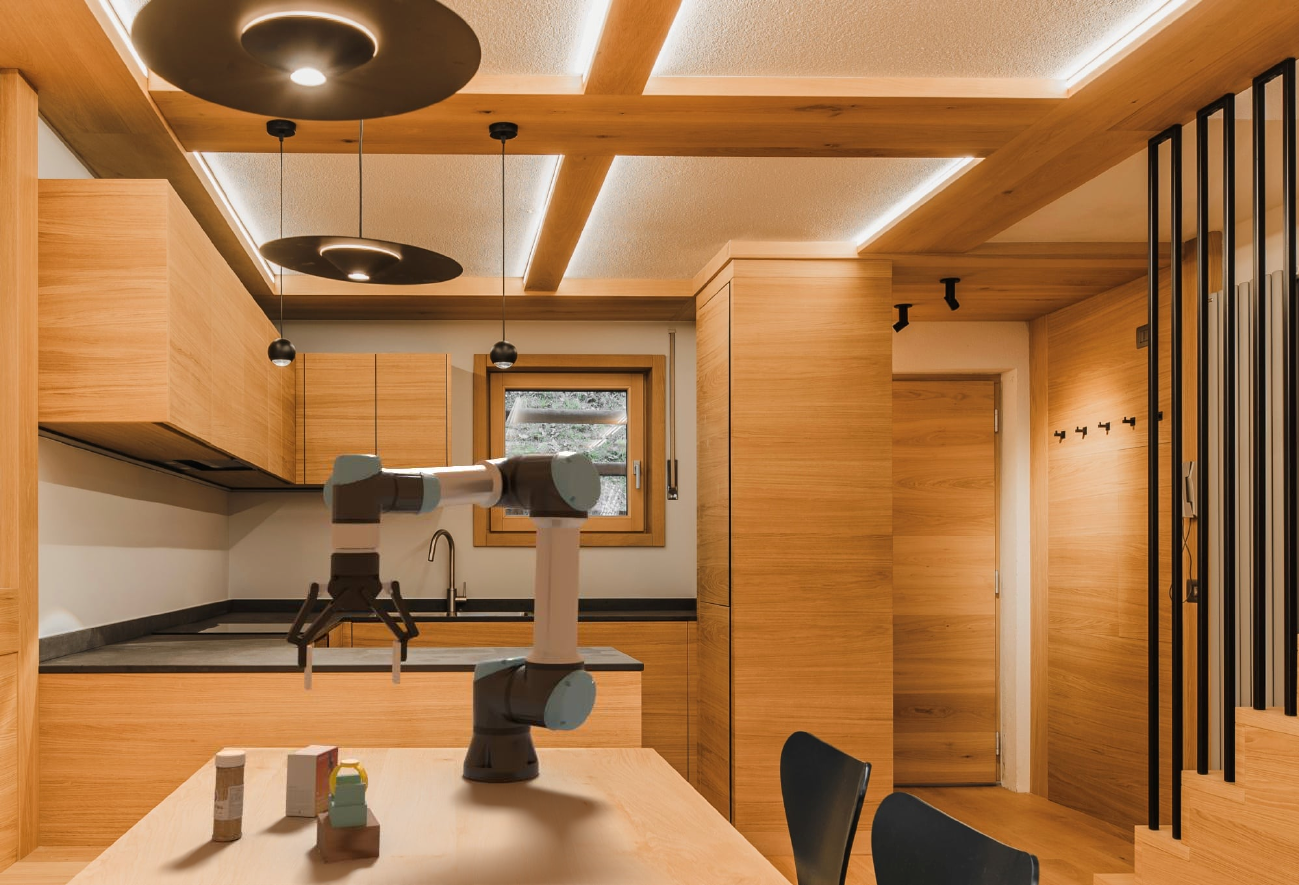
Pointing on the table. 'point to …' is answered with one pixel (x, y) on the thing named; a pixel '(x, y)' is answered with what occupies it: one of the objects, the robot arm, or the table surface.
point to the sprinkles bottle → (229, 795)
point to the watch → (348, 764)
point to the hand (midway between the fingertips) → (352, 685)
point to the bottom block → (347, 840)
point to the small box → (309, 780)
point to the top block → (348, 802)
